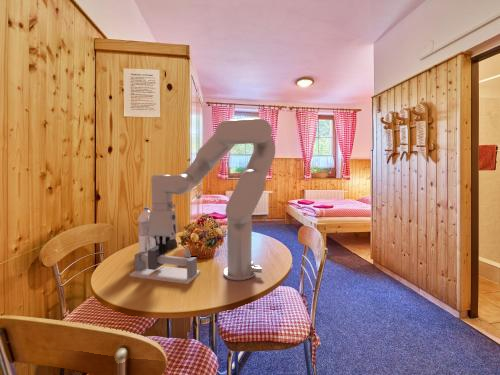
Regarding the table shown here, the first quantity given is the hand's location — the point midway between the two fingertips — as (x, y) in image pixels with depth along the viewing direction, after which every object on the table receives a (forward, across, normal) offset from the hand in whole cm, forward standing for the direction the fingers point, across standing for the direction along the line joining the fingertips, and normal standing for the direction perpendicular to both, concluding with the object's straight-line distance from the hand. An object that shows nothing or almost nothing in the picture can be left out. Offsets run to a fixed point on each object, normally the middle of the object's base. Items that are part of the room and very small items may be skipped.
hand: (163, 252), depth 97 cm
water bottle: (+9, +13, -8) cm, 18 cm away
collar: (+6, +3, 0) cm, 7 cm away
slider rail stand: (+9, -1, 0) cm, 9 cm away
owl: (+9, +18, -28) cm, 35 cm away
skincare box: (+9, -1, -22) cm, 24 cm away
